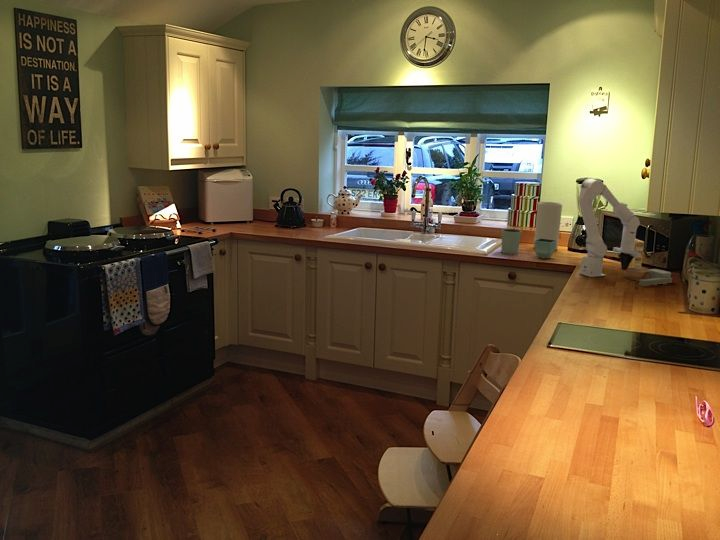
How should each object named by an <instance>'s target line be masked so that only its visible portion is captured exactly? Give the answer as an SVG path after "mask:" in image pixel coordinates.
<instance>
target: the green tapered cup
mask: <svg viewBox="0 0 720 540" xmlns="http://www.w3.org/2000/svg"><path fill="white" fill-rule="evenodd" d="M521 238H522V230H521V229H518V228H502V229H501V253H502V254H505V253H506V254H505V255H518V254H517V253H519V249H520V241H521Z"/></svg>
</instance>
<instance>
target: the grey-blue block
mask: <svg viewBox="0 0 720 540" xmlns="http://www.w3.org/2000/svg"><path fill="white" fill-rule="evenodd" d="M646 270H647V271H650V277H649V279H652V278H662V277H670V278H672V272H671V271H667V270H663V269H657V268H650V269H646Z"/></svg>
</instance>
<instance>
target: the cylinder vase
mask: <svg viewBox="0 0 720 540" xmlns="http://www.w3.org/2000/svg"><path fill="white" fill-rule="evenodd" d="M536 211H537V213H536V219H535V220H536V221H535V232H534V240H533V248H534V249H535V240H537V239H540V238H541V239H549V240H556V245H555V249H554V252H555V251H557V250H558V245H559V237H560V229H561V220H562V219H561V218H562V211H563V203H560V202H553V201H538V203H537V210H536Z"/></svg>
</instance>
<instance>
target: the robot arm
mask: <svg viewBox="0 0 720 540" xmlns="http://www.w3.org/2000/svg"><path fill="white" fill-rule="evenodd" d="M599 195H600V196H601V197H602V198H603V199H605V200H606V202H607V203H608V204H609V205H611V207H612V212H613V213H614V214H615V215H616V216H617V217H618V219H619V220H620V222H621V225H622V234H621V241H620V242H621V243H620V247H618V246H616V247H614V246H613V248H612V252H614V253H618V255H617V256H618V258H619V261H620V265H621V270H623V271H626V270H627V269H628V266H629V264H630V262H631V261H632V259H633V258H634V256H635V257H637V258H638V257H641V253H638V252H636V251H634V244H635V239H636V236H637V229H638V227H639V226H640V224H641V222H640V218H639V217H638V216H636V215H634V212H633V210H630V208H629V207H628V204H627V203H625V202H619V200H618V199H617V198H616V197H615V195H614V194H613V193H612V192H611V190H610V188H608V186H607V185H606V184H605V183H604V182H603V181H601V180H599V179H593V178H591V177H589V178H586V179H584V181H583V182H582V183H581V184H580V193H579V196H578V205H579V209H580V213H581V216H582V220H583V223H584V225H583V226H584V227H585V228H584V229H585V232H586V238H585V243H586V244H585V249H586V252H587V255H586V256H584V257H582V258H581V261H580V268H579V271H578V274H580V275H584V276H587V277H589V278H593V277H595V278H596V277H605V276H606V275H607V274H606V273H605V274H604V273H602V271H603V266H604V265H603V264H604V256H605V255H606V254H607V252H608V247H607V245H606V244H605V242H604V240H603V238H602V237H601V235H600V232H599V231H600V230H599V226H598V224H597V219H596V215H595V211H594V207H593V201H594V199H595V198H597V197H598V196H599ZM628 253H629V254H628Z"/></svg>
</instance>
